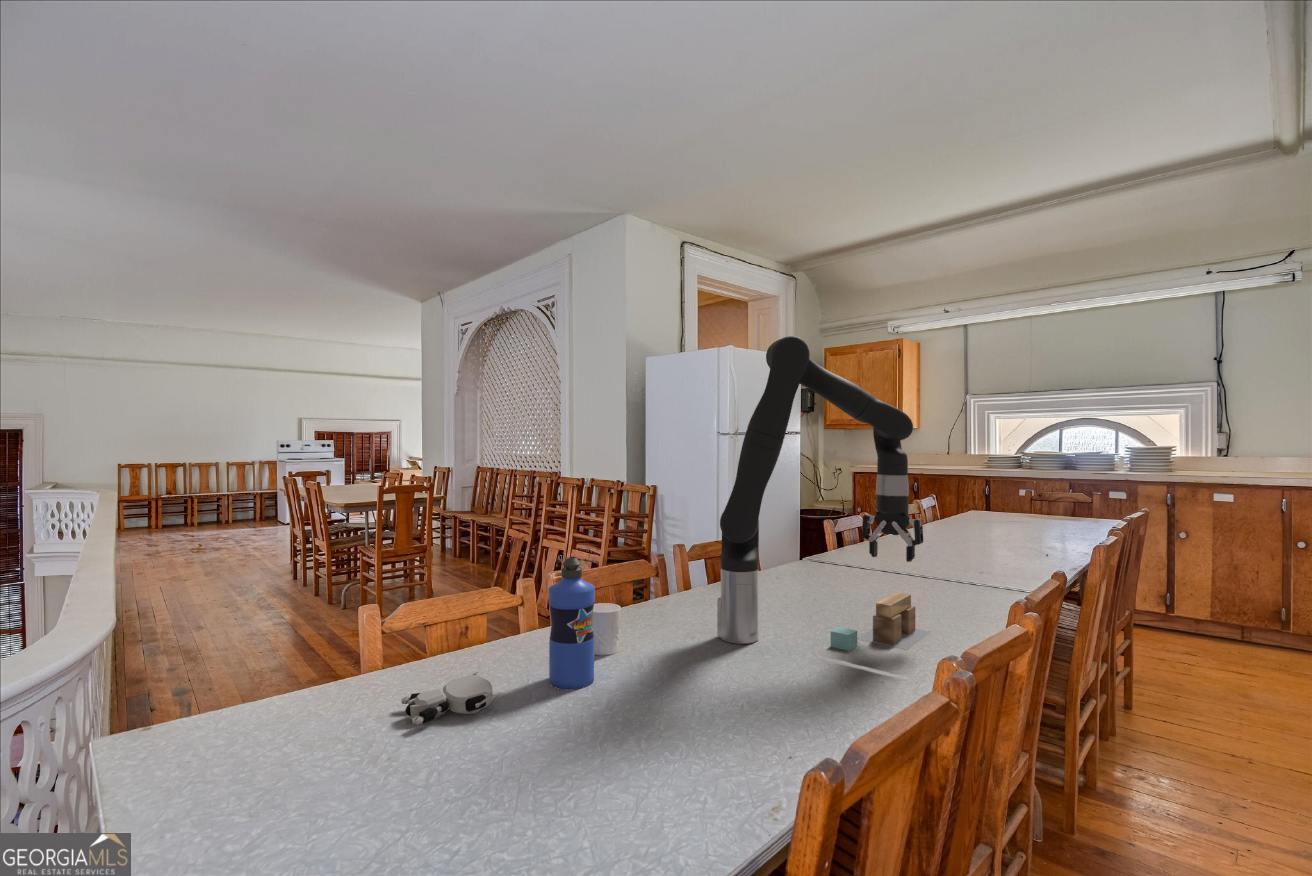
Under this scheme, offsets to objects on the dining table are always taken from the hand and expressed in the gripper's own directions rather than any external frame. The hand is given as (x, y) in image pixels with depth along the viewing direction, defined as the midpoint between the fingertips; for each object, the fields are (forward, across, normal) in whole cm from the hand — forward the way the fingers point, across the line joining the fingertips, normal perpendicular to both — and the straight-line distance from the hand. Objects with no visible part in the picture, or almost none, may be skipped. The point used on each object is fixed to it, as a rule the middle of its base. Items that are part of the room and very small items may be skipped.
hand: (891, 559), depth 153 cm
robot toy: (+21, -46, -93) cm, 106 cm away
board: (+20, +1, +1) cm, 20 cm away
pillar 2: (+19, +1, +6) cm, 20 cm away
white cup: (+20, -48, -52) cm, 73 cm away
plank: (+13, 0, +1) cm, 13 cm away
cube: (+20, -5, -15) cm, 26 cm away
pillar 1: (+19, +1, -4) cm, 19 cm away
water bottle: (+20, -40, -69) cm, 82 cm away
